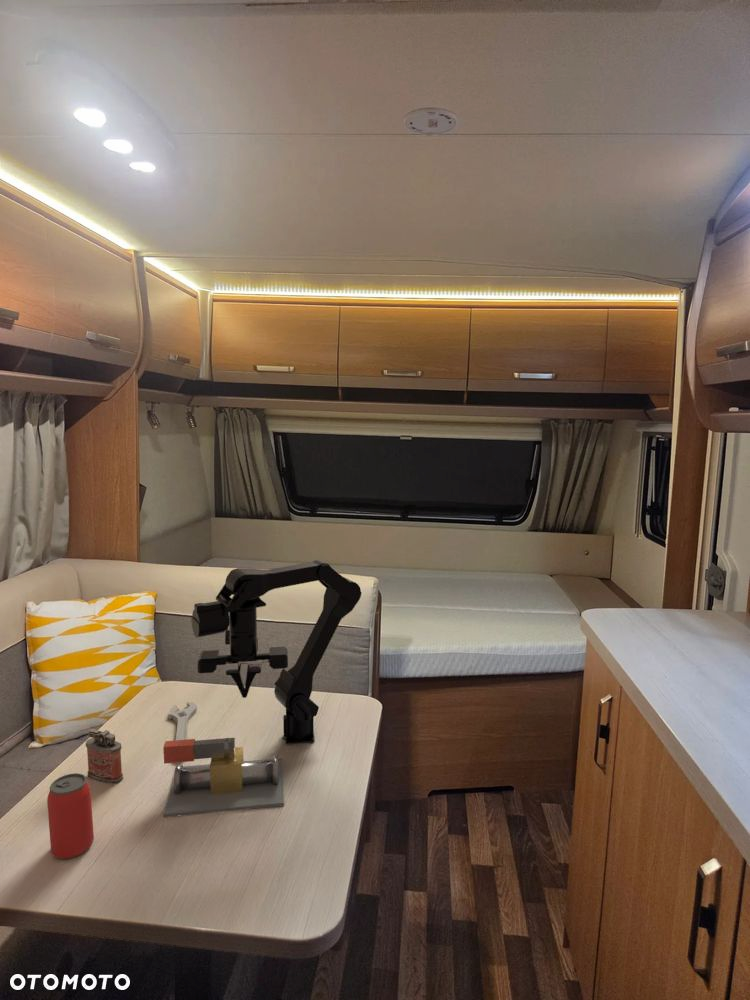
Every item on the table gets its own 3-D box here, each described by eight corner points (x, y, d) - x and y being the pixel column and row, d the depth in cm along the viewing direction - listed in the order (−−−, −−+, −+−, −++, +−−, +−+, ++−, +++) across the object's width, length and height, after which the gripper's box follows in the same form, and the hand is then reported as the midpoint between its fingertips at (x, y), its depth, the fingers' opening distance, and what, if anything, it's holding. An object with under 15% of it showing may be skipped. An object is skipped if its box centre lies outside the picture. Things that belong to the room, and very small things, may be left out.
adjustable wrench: (186, 764, 127) (186, 756, 127) (155, 767, 126) (155, 759, 125) (197, 707, 151) (197, 700, 151) (171, 709, 150) (171, 703, 150)
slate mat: (282, 760, 128) (282, 758, 127) (283, 805, 113) (283, 802, 113) (176, 769, 124) (176, 767, 124) (163, 817, 109) (163, 814, 109)
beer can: (61, 834, 105) (56, 771, 103) (99, 832, 105) (96, 770, 103) (43, 862, 98) (38, 796, 96) (85, 860, 99) (80, 794, 97)
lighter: (127, 776, 121) (124, 731, 120) (115, 786, 118) (112, 739, 117) (96, 768, 124) (93, 724, 123) (83, 777, 121) (80, 732, 119)
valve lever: (235, 751, 119) (234, 735, 118) (234, 757, 117) (233, 741, 116) (166, 757, 117) (165, 741, 116) (164, 763, 114) (163, 747, 114)
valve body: (278, 773, 123) (277, 743, 122) (278, 791, 117) (278, 760, 116) (178, 782, 120) (177, 752, 119) (173, 801, 114) (172, 769, 113)
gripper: (286, 613, 136) (287, 678, 138) (202, 617, 133) (204, 683, 135) (287, 631, 125) (288, 700, 127) (196, 635, 122) (198, 706, 124)
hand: (244, 696), depth 129 cm, fingers closed
